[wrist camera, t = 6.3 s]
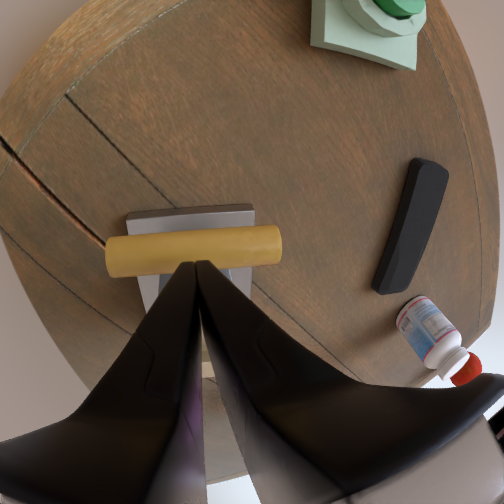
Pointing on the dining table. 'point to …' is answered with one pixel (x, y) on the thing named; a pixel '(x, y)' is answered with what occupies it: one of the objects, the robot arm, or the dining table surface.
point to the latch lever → (193, 254)
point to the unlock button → (401, 6)
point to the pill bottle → (432, 337)
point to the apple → (467, 371)
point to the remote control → (411, 226)
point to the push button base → (366, 31)
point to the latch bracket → (190, 221)
